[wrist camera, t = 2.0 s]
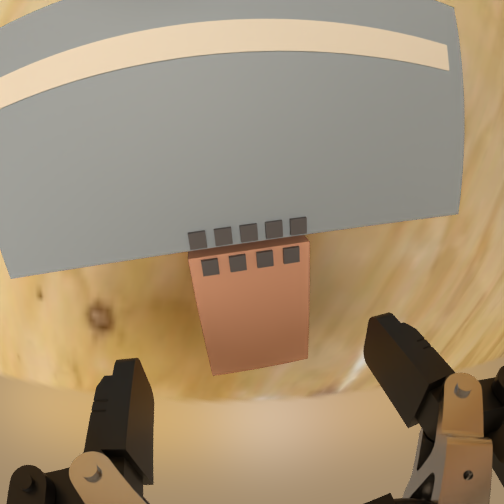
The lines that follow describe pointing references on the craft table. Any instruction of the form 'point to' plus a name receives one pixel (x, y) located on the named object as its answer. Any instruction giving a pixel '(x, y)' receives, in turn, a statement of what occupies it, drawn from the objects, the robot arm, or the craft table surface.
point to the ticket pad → (221, 124)
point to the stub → (253, 302)
